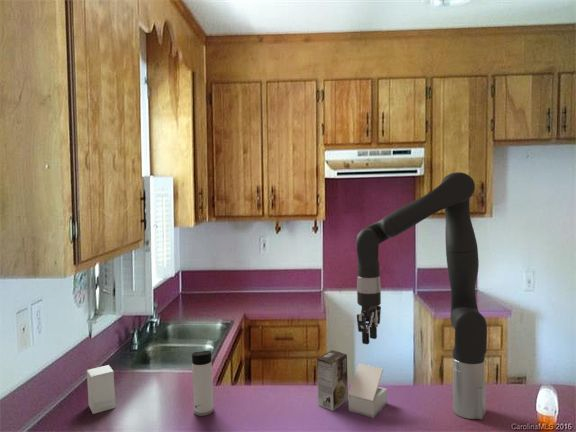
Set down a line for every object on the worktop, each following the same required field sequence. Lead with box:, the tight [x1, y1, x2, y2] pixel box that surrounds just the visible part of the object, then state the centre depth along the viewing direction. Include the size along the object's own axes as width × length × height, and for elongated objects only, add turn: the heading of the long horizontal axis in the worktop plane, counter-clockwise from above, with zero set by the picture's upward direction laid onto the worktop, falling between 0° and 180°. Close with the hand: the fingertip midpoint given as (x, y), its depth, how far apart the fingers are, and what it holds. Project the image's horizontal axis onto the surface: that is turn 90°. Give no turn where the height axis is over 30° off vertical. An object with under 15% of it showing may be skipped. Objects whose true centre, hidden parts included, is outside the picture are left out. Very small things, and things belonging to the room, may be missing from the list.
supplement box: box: [86, 364, 116, 415], centre depth 149 cm, size 7×7×13 cm
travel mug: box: [191, 350, 214, 417], centre depth 143 cm, size 6×7×20 cm
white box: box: [348, 386, 388, 419], centre depth 144 cm, size 8×11×5 cm
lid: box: [348, 362, 384, 401], centre depth 142 cm, size 8×11×1 cm
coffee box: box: [316, 349, 349, 412], centre depth 147 cm, size 9×6×16 cm
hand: (369, 340), depth 144 cm, fingers open, 5 cm apart
